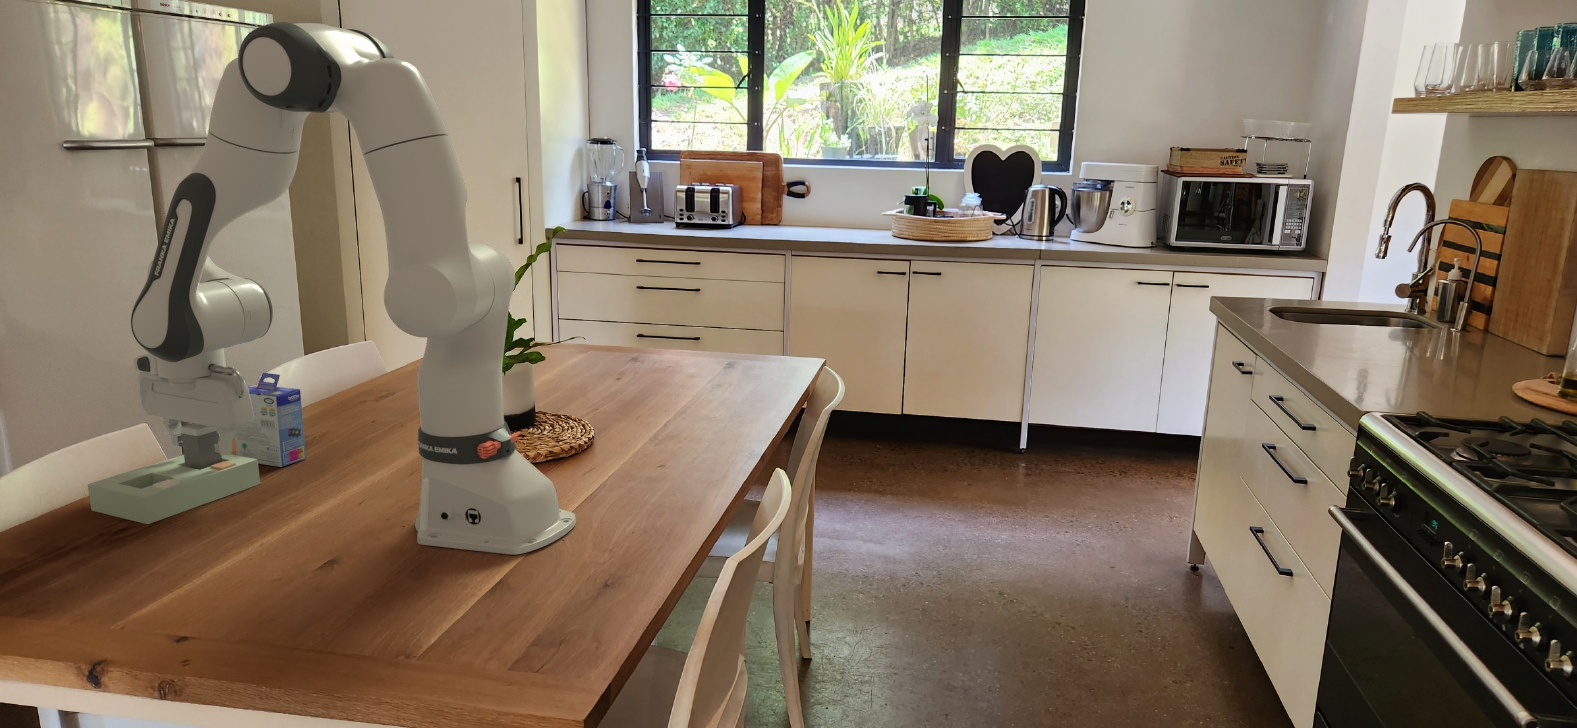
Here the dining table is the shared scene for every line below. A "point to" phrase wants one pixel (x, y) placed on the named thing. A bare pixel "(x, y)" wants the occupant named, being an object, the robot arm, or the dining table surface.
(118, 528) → the dining table surface
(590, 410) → the dining table surface
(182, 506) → the socket board
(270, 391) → the ink cartridge box
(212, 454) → the plug
